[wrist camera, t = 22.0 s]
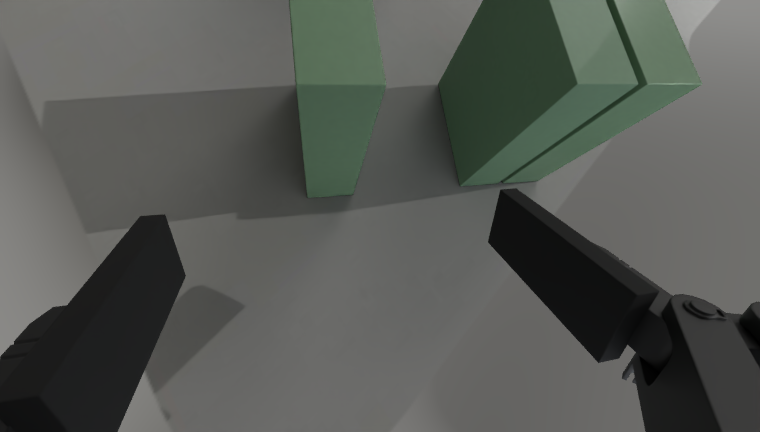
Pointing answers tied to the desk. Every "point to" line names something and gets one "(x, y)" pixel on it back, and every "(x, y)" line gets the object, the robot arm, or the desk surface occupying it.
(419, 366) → the desk surface
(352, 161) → the sage book
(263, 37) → the desk surface
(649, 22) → the green book
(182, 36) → the desk surface
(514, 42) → the green book
